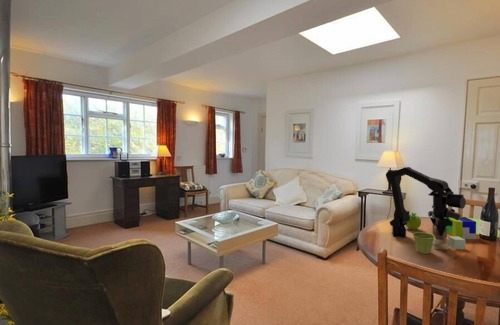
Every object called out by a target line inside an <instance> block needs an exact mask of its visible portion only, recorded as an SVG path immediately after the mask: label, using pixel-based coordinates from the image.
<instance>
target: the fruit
mask: <svg viewBox="0 0 500 325" xmlns="http://www.w3.org/2000/svg"><path fill="white" fill-rule="evenodd" d="M417 214H418V213H416V212H415V213H414V212H411V214H409V215H410V217H411V218H410V221H409V222H407V224H406V225H405V227H406V228H408V229H409V230H413V231H414V230H417V229H419V228H420V227H421V225H422V220H421V218H420V216H418V215H417Z"/></svg>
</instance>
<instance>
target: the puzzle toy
mask: <svg viewBox="0 0 500 325" xmlns="http://www.w3.org/2000/svg"><path fill="white" fill-rule="evenodd" d="M448 219H450V220H451V221H452V222H453V226H447V227H446V228H447V235H450V236H459V237H461V238H463V239H465V240H476V239H477V221H475V220H473V219H471V218H468V217H466V216H460V218H459V220H455V219H453V218H450V217H449V218H448Z"/></svg>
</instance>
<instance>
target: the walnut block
mask: <svg viewBox="0 0 500 325" xmlns="http://www.w3.org/2000/svg"><path fill="white" fill-rule="evenodd" d="M432 235H434V236H435V237H440V238H446V239H448V234H447V228H445V230H444V233H443V236H440V235H439V233H438V230H437V228H436V225H433V224H432Z"/></svg>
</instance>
